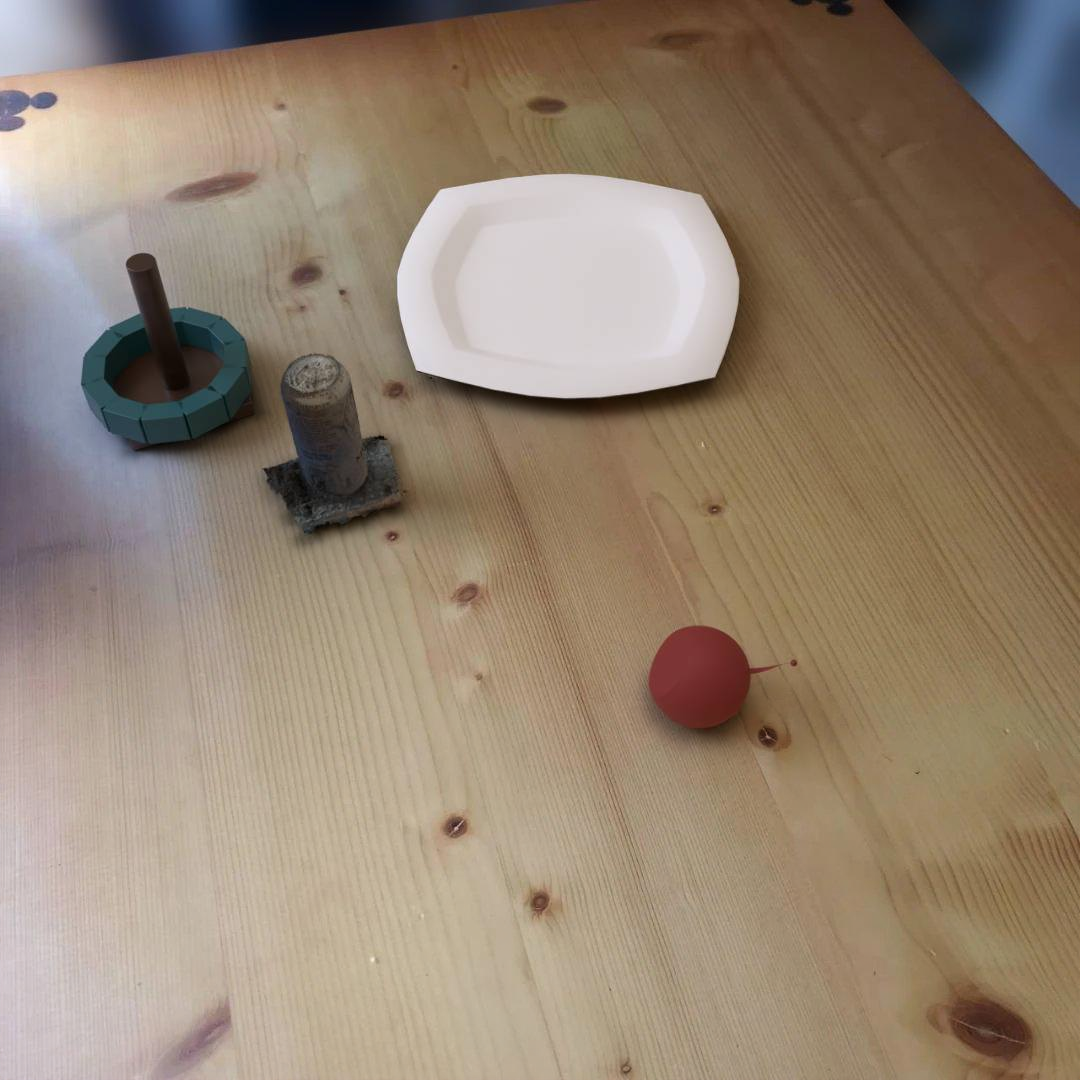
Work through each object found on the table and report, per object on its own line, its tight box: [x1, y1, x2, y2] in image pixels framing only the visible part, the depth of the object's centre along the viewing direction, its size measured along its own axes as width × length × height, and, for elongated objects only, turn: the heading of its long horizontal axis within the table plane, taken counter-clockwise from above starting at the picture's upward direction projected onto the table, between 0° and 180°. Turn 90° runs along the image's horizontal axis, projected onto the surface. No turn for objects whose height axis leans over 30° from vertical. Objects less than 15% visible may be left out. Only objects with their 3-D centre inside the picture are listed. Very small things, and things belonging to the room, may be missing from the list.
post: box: [113, 252, 256, 452], centre depth 92 cm, size 9×9×12 cm
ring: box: [80, 306, 252, 445], centre depth 95 cm, size 12×12×2 cm
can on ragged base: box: [262, 352, 403, 535], centre depth 86 cm, size 9×8×12 cm
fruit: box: [648, 624, 798, 729], centre depth 78 cm, size 6×6×8 cm
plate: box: [396, 173, 740, 400], centre depth 103 cm, size 27×27×2 cm
